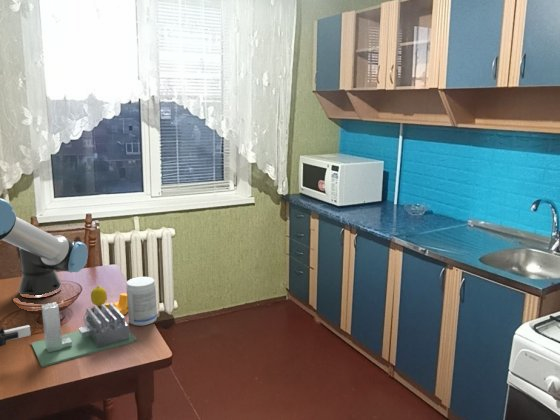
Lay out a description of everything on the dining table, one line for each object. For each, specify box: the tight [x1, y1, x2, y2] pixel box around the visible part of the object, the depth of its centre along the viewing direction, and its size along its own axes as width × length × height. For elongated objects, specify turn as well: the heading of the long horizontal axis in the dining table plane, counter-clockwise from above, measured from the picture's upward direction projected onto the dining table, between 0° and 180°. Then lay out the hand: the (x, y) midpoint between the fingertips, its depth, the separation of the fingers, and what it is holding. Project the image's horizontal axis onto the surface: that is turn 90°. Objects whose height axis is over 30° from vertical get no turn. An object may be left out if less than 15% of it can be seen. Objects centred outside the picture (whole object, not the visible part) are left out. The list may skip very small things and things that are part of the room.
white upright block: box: [40, 301, 72, 353], centre depth 149 cm, size 4×7×14 cm, turn 126°
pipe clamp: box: [104, 292, 128, 316], centre depth 173 cm, size 12×4×6 cm, turn 168°
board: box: [30, 330, 138, 368], centre depth 155 cm, size 16×28×1 cm, turn 126°
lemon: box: [90, 285, 108, 308], centre depth 181 cm, size 6×6×8 cm
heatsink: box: [78, 301, 130, 348], centre depth 157 cm, size 14×13×8 cm
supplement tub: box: [126, 276, 158, 326], centre depth 170 cm, size 10×10×15 cm
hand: (29, 330), depth 145 cm, fingers closed
